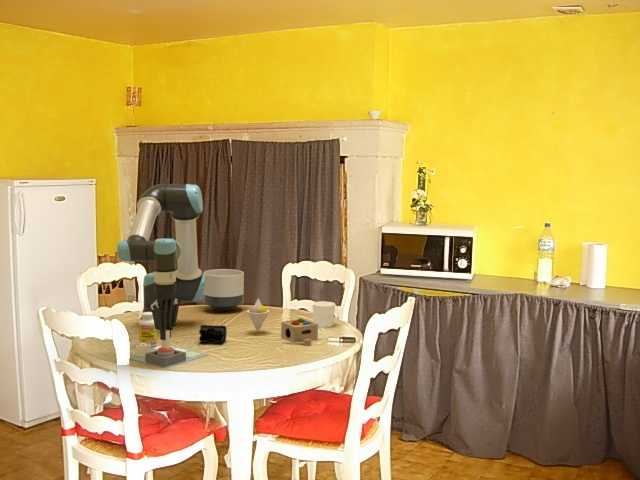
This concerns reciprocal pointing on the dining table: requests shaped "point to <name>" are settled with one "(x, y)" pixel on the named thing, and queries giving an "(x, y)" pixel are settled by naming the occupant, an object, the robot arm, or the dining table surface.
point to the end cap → (212, 335)
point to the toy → (258, 314)
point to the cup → (323, 313)
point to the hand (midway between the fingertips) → (165, 347)
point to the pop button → (165, 352)
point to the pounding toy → (299, 331)
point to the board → (189, 353)
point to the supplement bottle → (147, 329)
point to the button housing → (165, 358)
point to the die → (142, 349)
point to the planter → (223, 288)
